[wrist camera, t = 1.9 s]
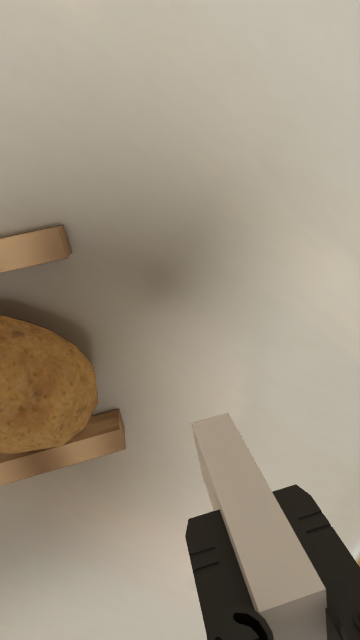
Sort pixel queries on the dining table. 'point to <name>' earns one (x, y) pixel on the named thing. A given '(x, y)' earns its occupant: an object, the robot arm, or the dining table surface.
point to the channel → (101, 429)
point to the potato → (41, 388)
